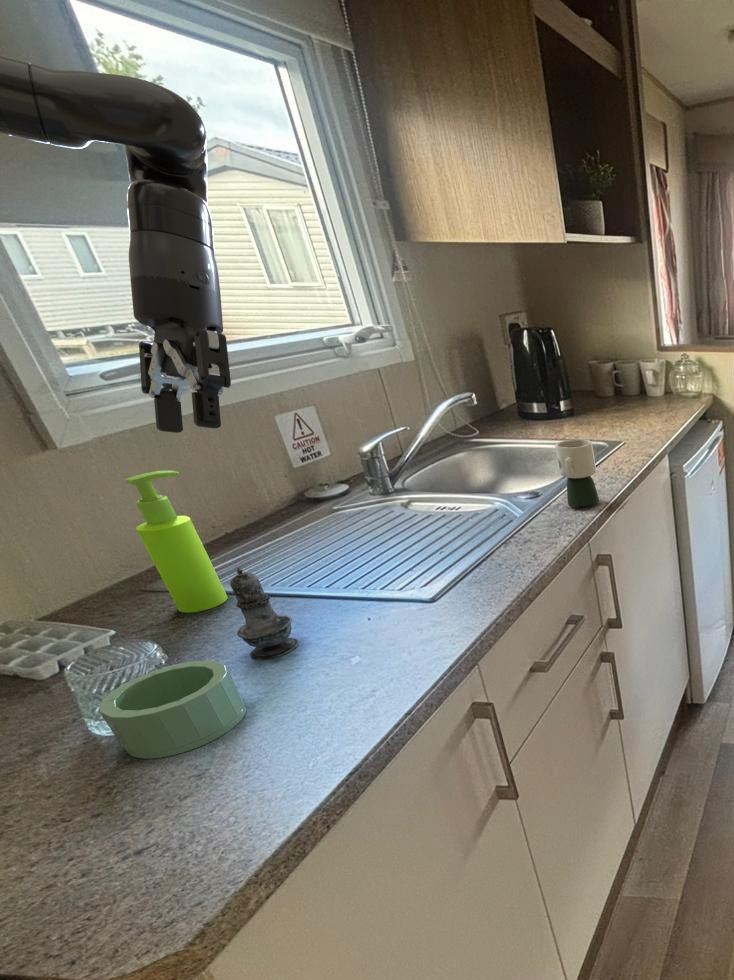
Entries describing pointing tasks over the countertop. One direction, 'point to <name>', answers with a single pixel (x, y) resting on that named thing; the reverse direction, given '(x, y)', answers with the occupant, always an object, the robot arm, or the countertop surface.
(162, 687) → the holder
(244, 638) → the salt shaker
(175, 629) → the countertop surface
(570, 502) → the character mug
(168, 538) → the soap dispenser
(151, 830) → the countertop surface
